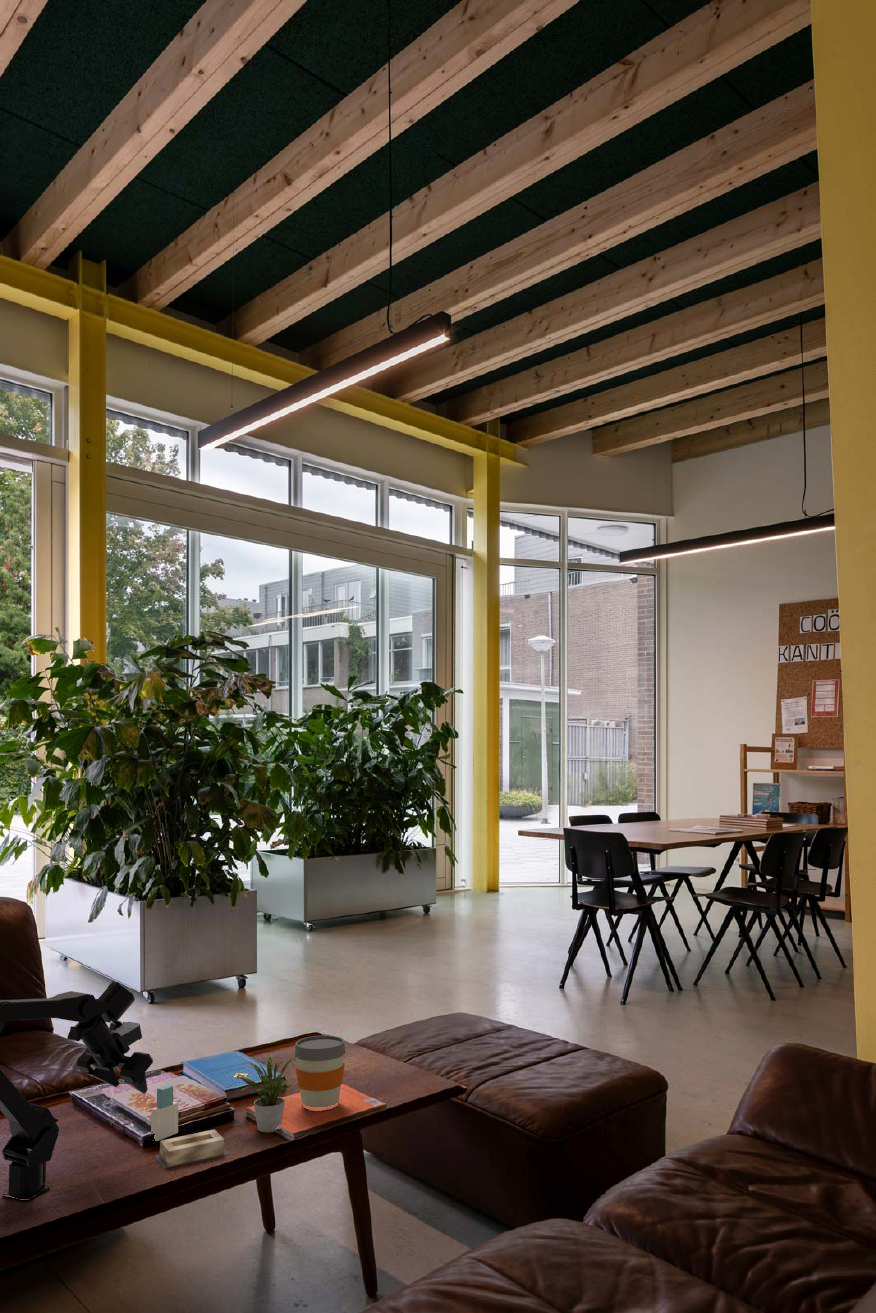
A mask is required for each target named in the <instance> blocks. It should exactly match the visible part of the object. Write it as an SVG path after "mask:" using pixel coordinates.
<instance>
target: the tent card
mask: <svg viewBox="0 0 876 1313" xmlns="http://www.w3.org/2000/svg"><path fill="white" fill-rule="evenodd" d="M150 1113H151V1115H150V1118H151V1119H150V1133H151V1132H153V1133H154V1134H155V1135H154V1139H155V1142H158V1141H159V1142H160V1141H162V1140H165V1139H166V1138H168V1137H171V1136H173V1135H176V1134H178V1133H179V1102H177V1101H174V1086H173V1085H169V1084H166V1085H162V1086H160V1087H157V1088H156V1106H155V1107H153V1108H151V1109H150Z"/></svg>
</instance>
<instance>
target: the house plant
mask: <svg viewBox="0 0 876 1313" xmlns="http://www.w3.org/2000/svg"><path fill="white" fill-rule="evenodd" d="M299 1057H300V1056H299ZM296 1058H298V1057H295V1056H294V1057H293V1058H290V1060H288V1058H287V1059H284V1060H281V1061H280V1063H278V1061H277V1060H276V1061H275V1064H274V1068H273V1058H272V1055H271V1054H269V1055H268V1058H267V1064H266V1070H265V1068H264V1067H263V1065H262V1064H261V1063H260V1062H259V1061H257V1060H255V1062H256V1063H257V1064H259V1066H260V1067H261V1068H260V1067H259V1066H258V1065H256V1064H255V1063H252V1062H250V1061H245V1063H246V1064H249V1065H250V1067H251V1068H253V1069H254V1070H255V1071H256V1072H257V1074H258V1077H259V1078H260V1079H259V1078H258V1077H257V1076H256V1075H255V1074H254V1073H253V1072H251V1071H250V1070H249V1069H246V1068H245V1071H248V1072H250V1073H251V1074H253V1076H254V1077H255V1078H257V1080H260V1082H261V1083H260V1084H261V1085H260V1084H259V1083H257V1082H255V1081H253V1080H252V1079H249V1078H248V1077H245V1076H239V1075H236V1078H238V1079H240V1080H242V1081H243V1082H244V1083H245V1084H247V1085H248V1086H245V1087H243V1088H242V1089H241V1090H240V1091H244V1090H247V1089H252V1090H254V1092H256V1094H257V1095H258V1096H259V1098H258V1099H255V1100H254V1101H253V1106H254V1114H255V1119H256V1125H257V1126H256V1127H257V1130H258V1132H262V1133H274V1132H276V1131H275V1128H277V1126H279V1125H281V1126H282V1121H283V1115H284V1108H285V1102H286V1101H285V1100H286V1099H285V1098H283V1097H281V1096H280V1094H281V1093H282V1092H283V1091H284V1090H287V1089H288V1091H289V1092H290V1087H291V1086H290V1085H286V1084H288V1083H293V1082H292V1080H291V1081H290V1080H286V1079H284V1077H286V1075H288V1074H287V1073H289V1071H291V1069H292V1068H293V1065H292V1066H291V1068H289V1069H288V1070H287V1068H288V1067H289V1066H290V1065H291V1064H292V1062H293V1061H295V1060H296ZM287 1060H288V1061H287ZM285 1061H287V1062H286V1063H285V1064H284V1065H283V1067H282V1069H281V1071H280V1073H279V1074H277V1072H278V1069H279V1067H280V1065H281V1064H282V1063H283V1062H285ZM261 1069H262V1070H261ZM286 1070H287V1071H286ZM285 1071H286V1073H285ZM284 1073H285V1074H284ZM283 1075H284V1076H283ZM262 1087H263V1088H262Z"/></svg>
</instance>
